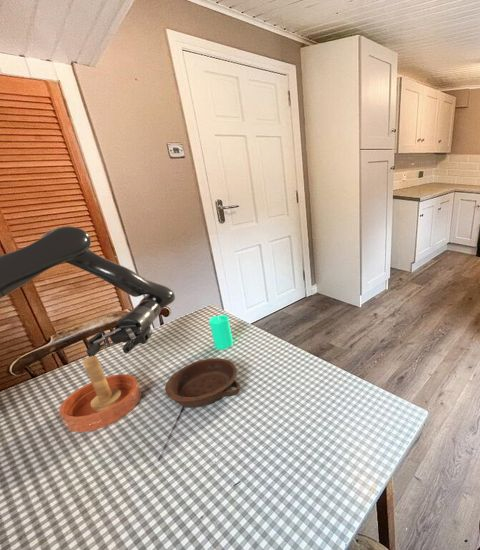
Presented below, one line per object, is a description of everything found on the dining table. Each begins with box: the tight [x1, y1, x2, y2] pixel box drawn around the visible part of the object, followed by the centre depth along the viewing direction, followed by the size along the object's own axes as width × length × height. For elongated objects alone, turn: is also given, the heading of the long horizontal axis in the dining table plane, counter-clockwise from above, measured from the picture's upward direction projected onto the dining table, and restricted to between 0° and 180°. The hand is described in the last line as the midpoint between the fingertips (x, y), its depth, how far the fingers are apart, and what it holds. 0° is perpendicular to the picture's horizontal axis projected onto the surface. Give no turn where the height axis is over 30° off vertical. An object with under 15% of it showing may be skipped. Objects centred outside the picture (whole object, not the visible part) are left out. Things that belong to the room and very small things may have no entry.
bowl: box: [58, 373, 143, 433], centre depth 80 cm, size 16×16×5 cm
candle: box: [208, 314, 234, 350], centre depth 105 cm, size 6×6×12 cm
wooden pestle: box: [82, 355, 123, 413], centre depth 79 cm, size 6×6×14 cm
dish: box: [164, 357, 241, 409], centre depth 86 cm, size 18×22×5 cm
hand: (107, 352), depth 82 cm, fingers open, 8 cm apart
